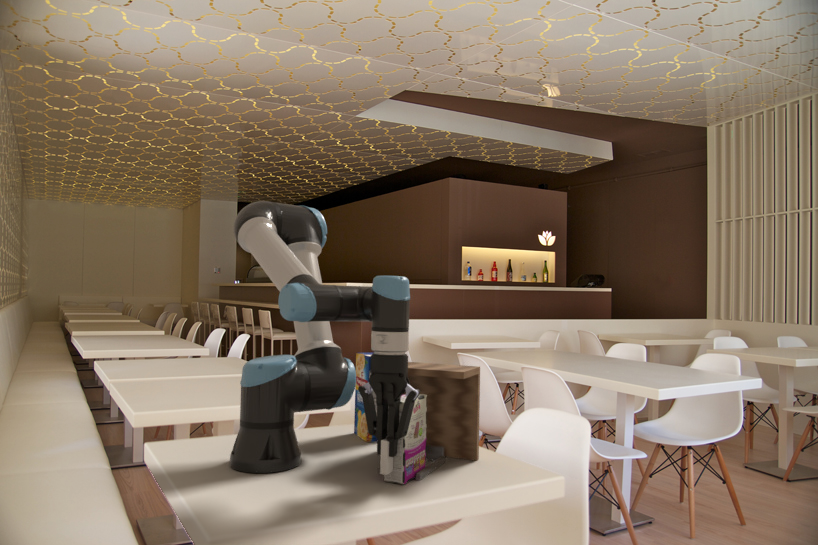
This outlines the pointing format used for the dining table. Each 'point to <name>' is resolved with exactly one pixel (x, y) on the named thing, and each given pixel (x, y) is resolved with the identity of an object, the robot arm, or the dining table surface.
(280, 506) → the dining table surface
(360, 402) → the blue cardboard box
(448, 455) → the overhang shelf
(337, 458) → the dining table surface
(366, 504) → the dining table surface
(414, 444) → the candy bar box
